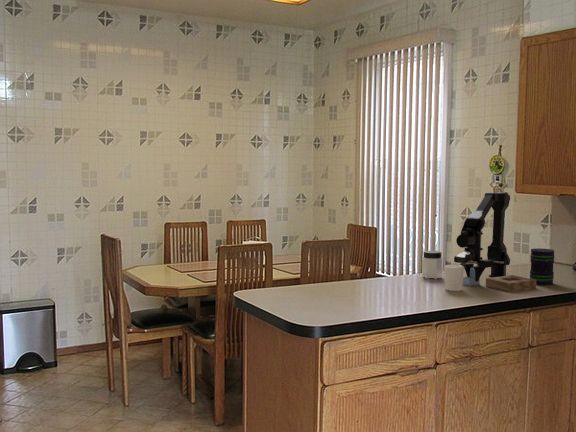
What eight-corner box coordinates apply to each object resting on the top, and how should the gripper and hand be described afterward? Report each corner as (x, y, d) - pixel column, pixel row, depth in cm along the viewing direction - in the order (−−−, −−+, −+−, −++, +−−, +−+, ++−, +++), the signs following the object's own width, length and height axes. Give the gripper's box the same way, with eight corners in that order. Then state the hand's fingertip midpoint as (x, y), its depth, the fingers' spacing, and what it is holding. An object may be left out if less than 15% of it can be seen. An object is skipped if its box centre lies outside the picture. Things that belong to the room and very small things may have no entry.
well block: (512, 283, 278) (512, 275, 278) (536, 288, 267) (536, 279, 266) (485, 286, 271) (485, 278, 270) (509, 292, 259) (509, 283, 259)
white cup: (441, 290, 262) (442, 266, 261) (446, 287, 269) (446, 264, 268) (460, 292, 259) (461, 268, 258) (464, 288, 266) (465, 265, 265)
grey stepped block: (472, 282, 279) (473, 267, 278) (479, 284, 275) (480, 268, 274) (462, 284, 276) (463, 268, 275) (469, 285, 272) (469, 269, 272)
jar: (434, 279, 286) (434, 253, 285) (419, 277, 292) (419, 251, 291) (444, 277, 292) (445, 251, 291) (429, 275, 298) (430, 250, 297)
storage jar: (549, 281, 282) (550, 248, 281) (556, 285, 272) (557, 251, 271) (526, 281, 283) (527, 248, 282) (532, 285, 273) (534, 251, 272)
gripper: (445, 244, 279) (444, 278, 280) (476, 249, 262) (475, 286, 264) (463, 242, 284) (463, 276, 285) (495, 247, 268) (494, 283, 269)
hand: (473, 280), depth 276 cm, fingers closed on grey stepped block, 4 cm apart
